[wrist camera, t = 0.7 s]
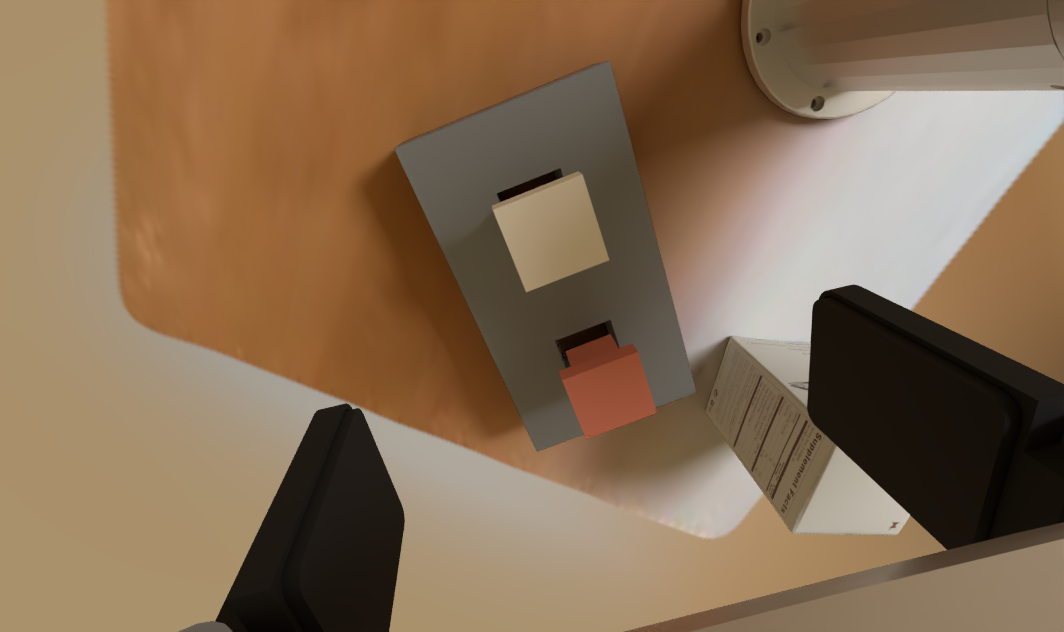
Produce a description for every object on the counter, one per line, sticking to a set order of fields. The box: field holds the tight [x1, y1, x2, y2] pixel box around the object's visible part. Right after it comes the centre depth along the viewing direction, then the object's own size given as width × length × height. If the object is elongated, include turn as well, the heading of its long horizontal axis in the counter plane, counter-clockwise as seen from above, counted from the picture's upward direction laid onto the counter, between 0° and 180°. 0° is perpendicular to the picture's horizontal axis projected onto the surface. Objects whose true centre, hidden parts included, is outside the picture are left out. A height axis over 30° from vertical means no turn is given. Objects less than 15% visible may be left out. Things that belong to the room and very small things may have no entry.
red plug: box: [559, 334, 657, 439], centre depth 29 cm, size 4×4×4 cm
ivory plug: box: [492, 171, 609, 292], centre depth 25 cm, size 4×4×4 cm
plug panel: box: [394, 61, 696, 452], centre depth 32 cm, size 12×22×4 cm, turn 20°
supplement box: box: [706, 336, 910, 535], centre depth 34 cm, size 7×7×13 cm
